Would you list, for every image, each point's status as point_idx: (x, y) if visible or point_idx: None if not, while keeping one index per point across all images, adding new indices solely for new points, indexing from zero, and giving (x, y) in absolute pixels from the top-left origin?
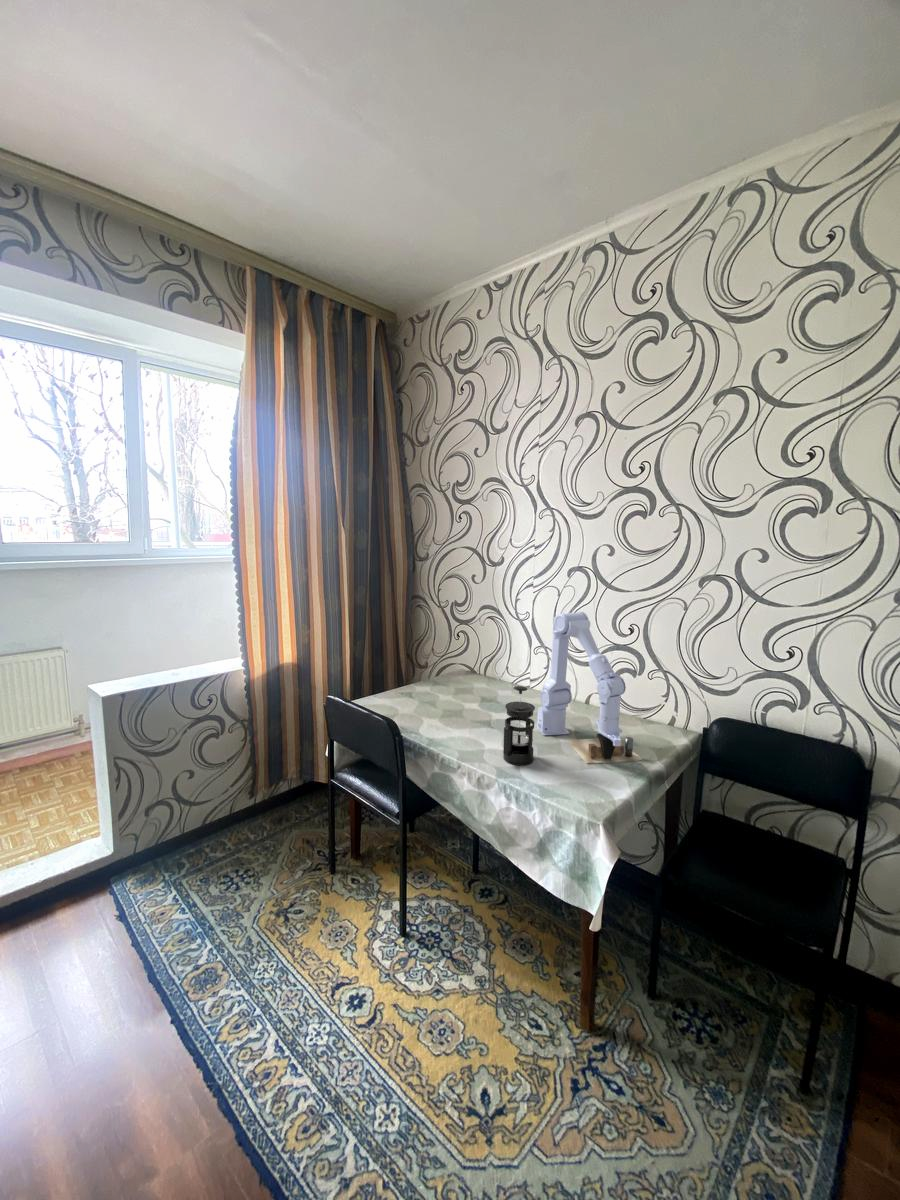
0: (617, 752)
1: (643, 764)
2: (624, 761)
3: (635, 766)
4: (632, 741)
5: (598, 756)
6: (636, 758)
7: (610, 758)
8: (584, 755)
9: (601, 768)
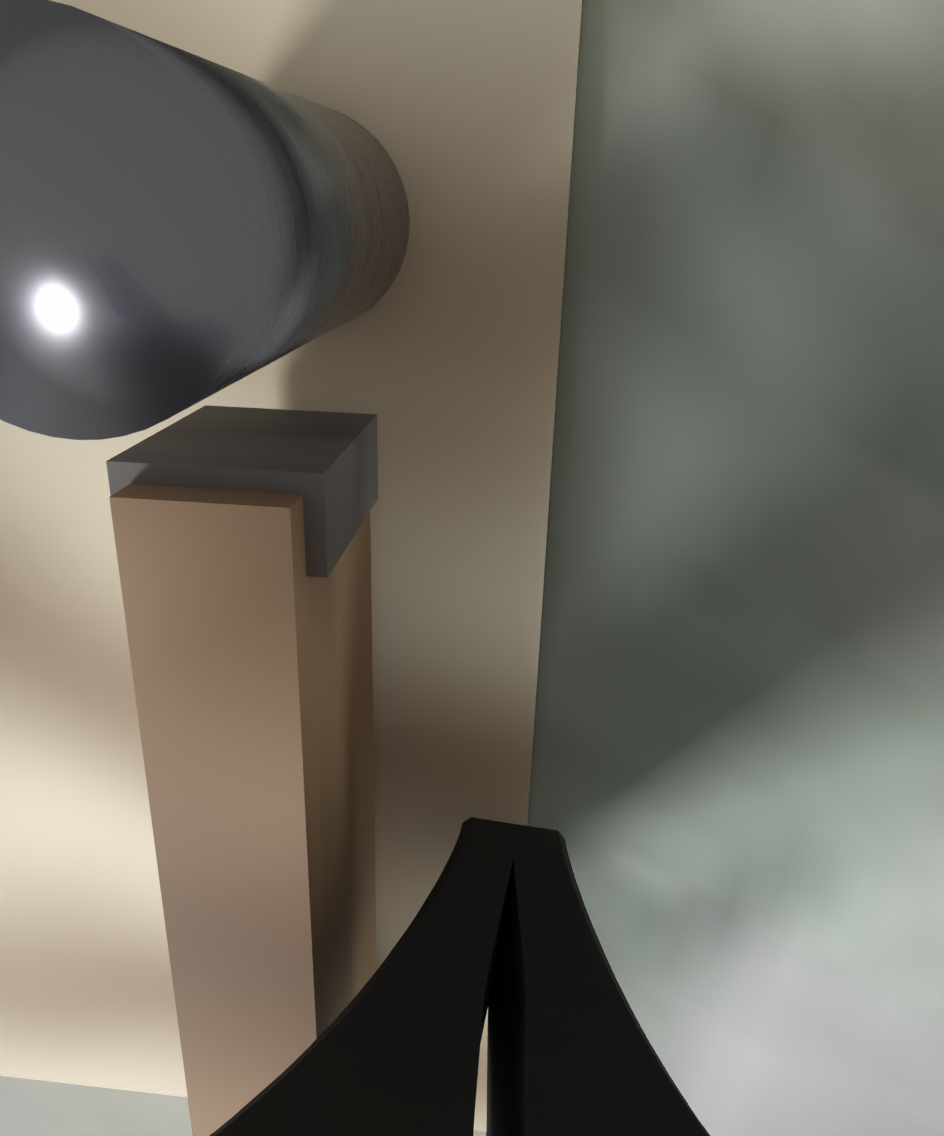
0: (355, 605)
1: (808, 26)
2: (550, 459)
3: (836, 325)
4: (255, 152)
5: (373, 947)
6: (513, 77)
7: (566, 853)
8: None
9: (704, 994)
